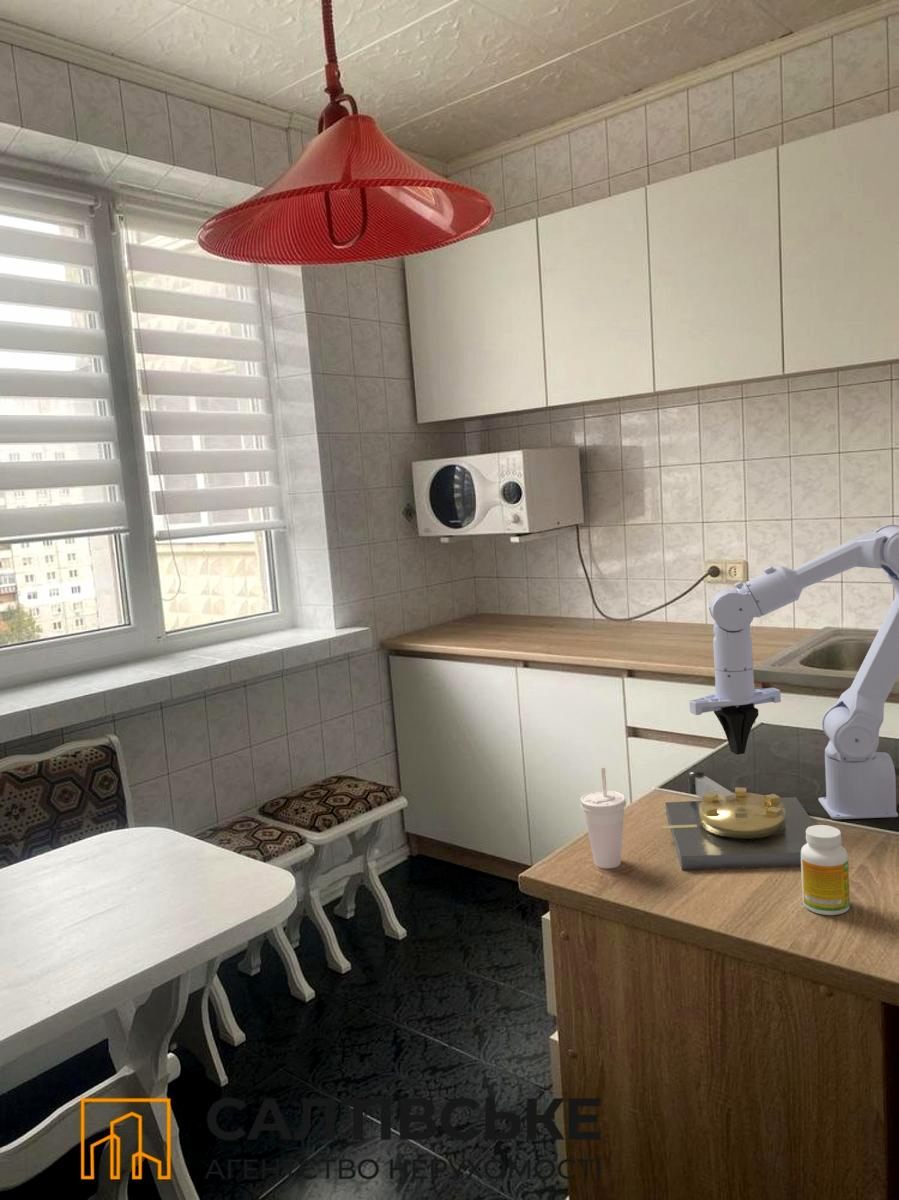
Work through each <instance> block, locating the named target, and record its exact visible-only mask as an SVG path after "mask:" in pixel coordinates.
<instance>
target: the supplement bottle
mask: <svg viewBox="0 0 899 1200" xmlns="http://www.w3.org/2000/svg"><path fill="white" fill-rule="evenodd" d="M806 841H807V844H805V845H804V846H803V847H802V849H801V866H800V871H801V872H800V873H801V875H800V876H801V895H802V897H801V899H802V904H803V905H804V907H805V908H806V909H807V910H808V911H810V912H812V913H814V914H815V913H816V914H818V915H823V916H836V915H842V914H845V913H846V912H848V911H849V909H850V906H851V905H850V902H851V900H850V899H851V898H850V879H849V878H850V877H849V875H850V874H849V873H850V871H849V854H848V853H849V852H847V849H845V847H844V846H842V832H841V830H840V829H839V828H837V827H834V826H831V825H826V824H815V825H814V826H810V827H808V828H807V829H806Z"/></svg>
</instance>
